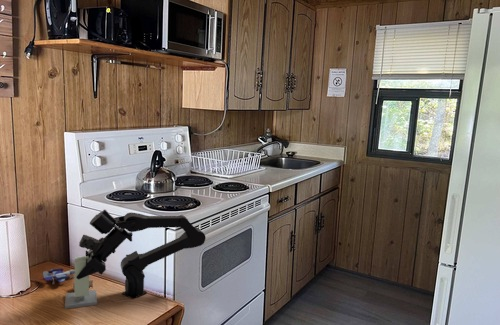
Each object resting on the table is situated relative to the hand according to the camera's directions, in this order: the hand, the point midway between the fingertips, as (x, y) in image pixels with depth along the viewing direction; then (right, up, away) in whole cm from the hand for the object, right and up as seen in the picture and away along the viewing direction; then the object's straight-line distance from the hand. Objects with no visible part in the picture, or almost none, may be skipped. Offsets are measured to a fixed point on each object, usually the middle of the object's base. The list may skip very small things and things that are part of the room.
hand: (77, 275), depth 136 cm
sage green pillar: (+1, -7, +1) cm, 7 cm away
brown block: (-3, -8, +11) cm, 14 cm away
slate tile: (+1, -9, +1) cm, 9 cm away
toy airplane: (-13, -7, +17) cm, 22 cm away
